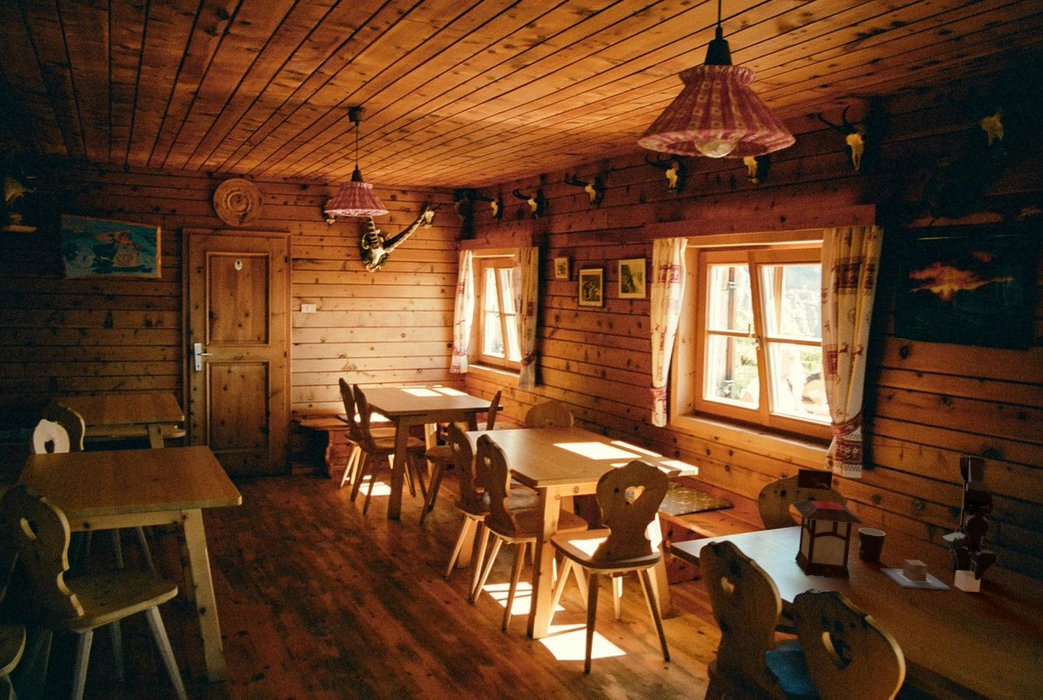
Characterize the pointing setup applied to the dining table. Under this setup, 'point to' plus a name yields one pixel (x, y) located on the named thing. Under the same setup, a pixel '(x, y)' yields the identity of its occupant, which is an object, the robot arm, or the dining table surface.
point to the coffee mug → (870, 544)
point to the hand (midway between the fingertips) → (968, 574)
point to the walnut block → (915, 570)
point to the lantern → (823, 529)
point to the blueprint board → (906, 582)
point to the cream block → (967, 581)
